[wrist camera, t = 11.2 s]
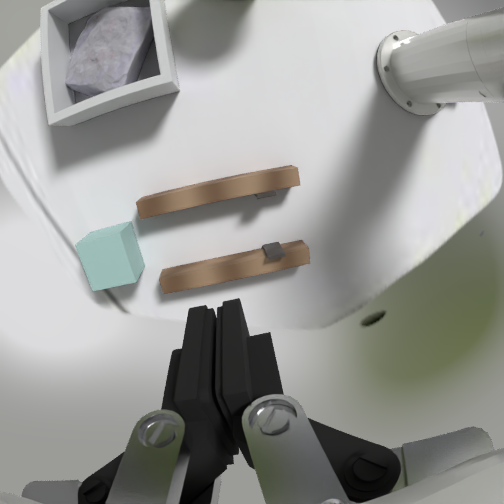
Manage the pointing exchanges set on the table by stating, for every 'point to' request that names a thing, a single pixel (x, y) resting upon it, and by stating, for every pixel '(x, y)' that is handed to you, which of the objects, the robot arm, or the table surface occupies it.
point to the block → (111, 256)
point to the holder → (58, 59)
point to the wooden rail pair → (236, 264)
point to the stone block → (110, 50)
